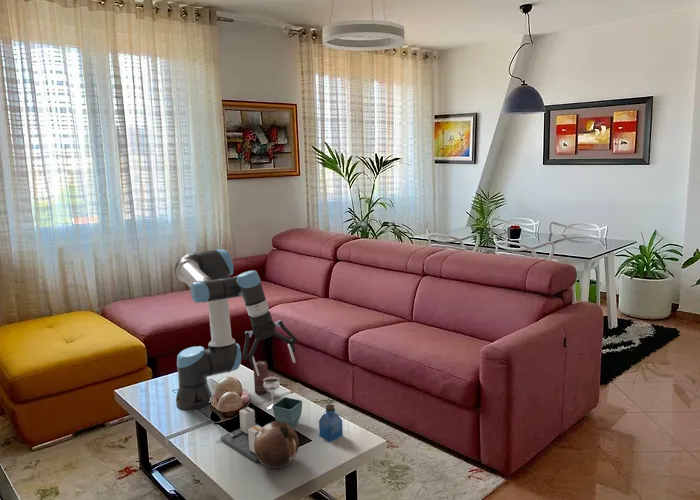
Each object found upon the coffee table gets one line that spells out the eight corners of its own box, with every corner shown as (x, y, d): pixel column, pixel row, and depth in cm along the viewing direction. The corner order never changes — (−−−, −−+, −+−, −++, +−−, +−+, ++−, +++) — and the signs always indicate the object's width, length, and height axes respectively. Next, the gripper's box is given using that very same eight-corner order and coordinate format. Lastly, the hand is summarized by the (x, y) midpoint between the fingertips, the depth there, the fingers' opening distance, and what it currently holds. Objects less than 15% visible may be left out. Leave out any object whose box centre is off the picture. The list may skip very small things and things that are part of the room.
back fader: (240, 430, 207) (239, 409, 206) (249, 426, 210) (248, 406, 209) (246, 433, 205) (245, 413, 203) (255, 429, 207) (254, 409, 206)
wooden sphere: (248, 462, 189) (245, 422, 187) (286, 448, 198) (284, 409, 195) (267, 482, 177) (265, 440, 175) (307, 466, 186) (305, 426, 183)
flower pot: (272, 427, 213) (271, 405, 211) (285, 417, 221) (284, 396, 219) (291, 431, 209) (290, 410, 207) (303, 421, 217) (303, 400, 215)
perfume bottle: (331, 430, 210) (330, 401, 208) (342, 435, 205) (341, 406, 203) (319, 436, 205) (318, 406, 203) (330, 442, 201) (329, 411, 199)
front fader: (249, 450, 193) (248, 428, 192) (258, 445, 196) (257, 423, 195) (256, 454, 191) (254, 431, 189) (265, 449, 193) (264, 427, 192)
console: (221, 440, 204) (220, 436, 203) (254, 425, 214) (253, 421, 214) (256, 463, 189) (255, 458, 188) (289, 445, 199) (289, 441, 199)
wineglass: (283, 404, 232) (282, 378, 230) (274, 411, 226) (273, 384, 224) (270, 401, 235) (269, 375, 233) (261, 408, 229) (259, 381, 227)
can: (263, 396, 240) (261, 366, 237) (252, 393, 243) (250, 363, 241) (271, 391, 245) (270, 361, 243) (261, 388, 248) (259, 358, 246)
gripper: (225, 327, 188) (243, 383, 192) (294, 304, 194) (310, 359, 197) (224, 322, 196) (242, 376, 199) (290, 300, 201) (306, 353, 205)
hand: (276, 368), depth 198 cm, fingers open, 13 cm apart
